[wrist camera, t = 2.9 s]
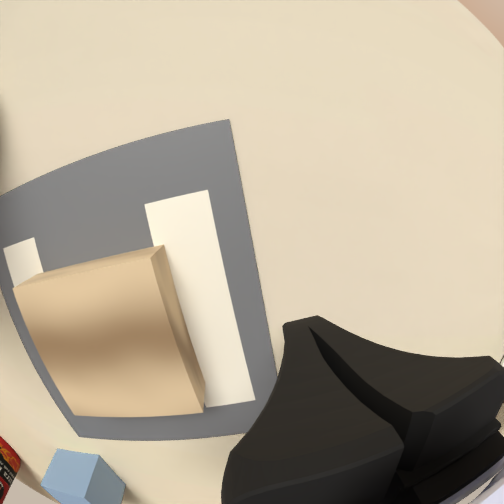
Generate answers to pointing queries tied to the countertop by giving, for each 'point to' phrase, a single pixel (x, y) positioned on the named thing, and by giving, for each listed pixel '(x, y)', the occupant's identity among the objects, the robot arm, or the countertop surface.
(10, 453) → the canned food
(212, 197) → the letter card
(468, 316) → the countertop surface
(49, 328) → the oak slab
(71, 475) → the blue cube
